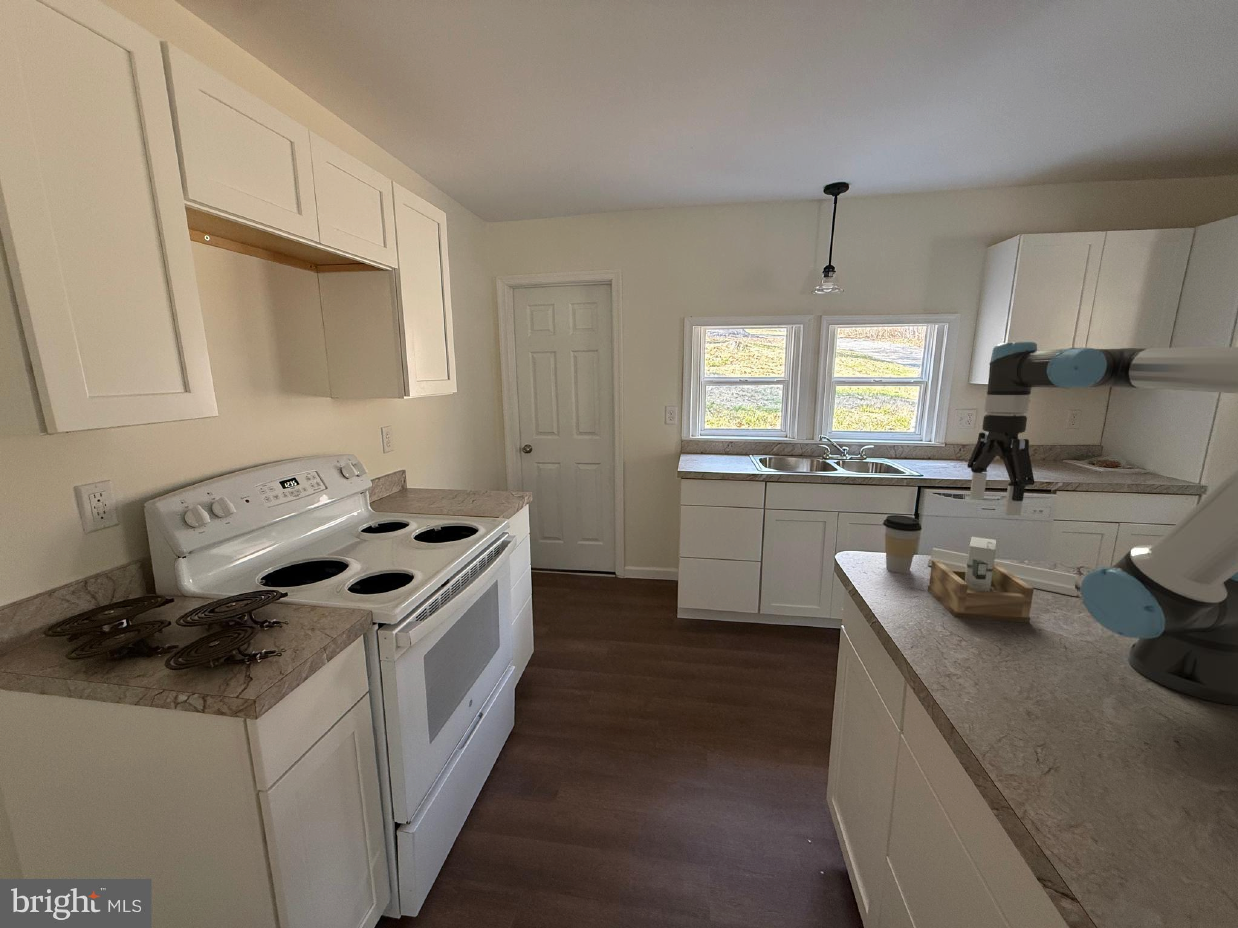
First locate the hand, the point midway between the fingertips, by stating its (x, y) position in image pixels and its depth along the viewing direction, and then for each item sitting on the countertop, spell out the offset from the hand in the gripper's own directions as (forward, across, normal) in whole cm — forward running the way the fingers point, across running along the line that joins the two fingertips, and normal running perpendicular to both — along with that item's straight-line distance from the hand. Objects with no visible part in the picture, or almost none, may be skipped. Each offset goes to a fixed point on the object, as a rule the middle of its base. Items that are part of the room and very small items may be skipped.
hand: (993, 506), depth 108 cm
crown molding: (+26, +22, -15) cm, 37 cm away
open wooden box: (+25, +1, +1) cm, 25 cm away
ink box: (+21, +1, +1) cm, 21 cm away
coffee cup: (+25, +21, +11) cm, 34 cm away
